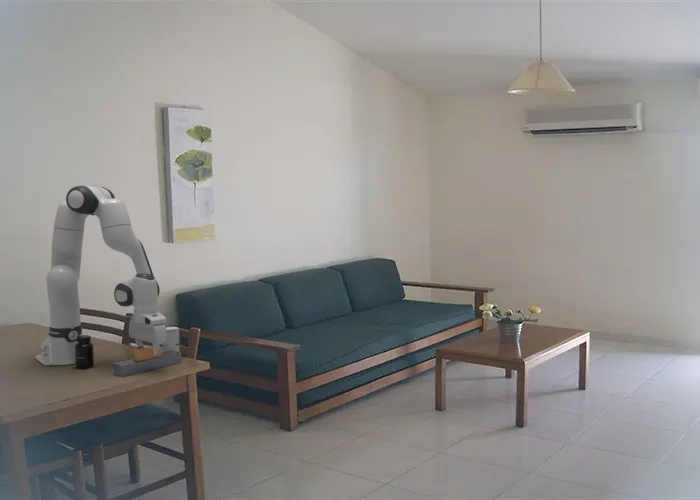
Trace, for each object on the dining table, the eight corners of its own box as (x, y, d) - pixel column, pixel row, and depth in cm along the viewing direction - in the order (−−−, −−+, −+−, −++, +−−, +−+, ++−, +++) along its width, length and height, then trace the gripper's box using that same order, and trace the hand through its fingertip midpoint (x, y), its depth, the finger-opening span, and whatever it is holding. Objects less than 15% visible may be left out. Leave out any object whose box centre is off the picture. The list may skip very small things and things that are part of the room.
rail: (113, 373, 265) (112, 363, 264) (172, 360, 284) (172, 350, 284) (121, 376, 261) (121, 366, 260) (181, 362, 280) (181, 352, 280)
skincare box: (165, 359, 285) (164, 329, 283) (161, 357, 288) (160, 328, 287) (180, 357, 288) (179, 328, 287) (176, 355, 292) (175, 326, 290)
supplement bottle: (76, 370, 270) (75, 339, 269) (74, 366, 276) (73, 335, 275) (95, 368, 273) (94, 337, 272) (93, 363, 279) (91, 333, 278)
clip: (134, 368, 270) (134, 350, 269) (157, 363, 277) (157, 345, 276) (139, 370, 268) (138, 351, 267) (162, 364, 275) (161, 346, 274)
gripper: (124, 314, 275) (125, 349, 276) (154, 321, 261) (155, 358, 263) (138, 312, 280) (139, 346, 281) (168, 318, 266) (170, 355, 267)
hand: (147, 352), depth 272 cm, fingers open, 8 cm apart
